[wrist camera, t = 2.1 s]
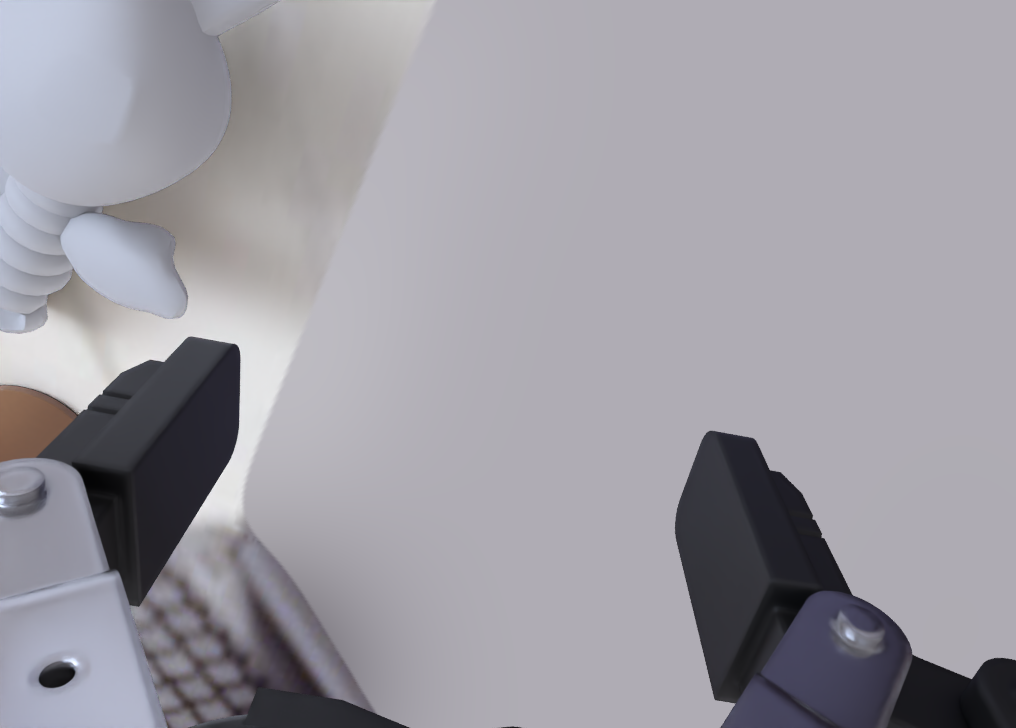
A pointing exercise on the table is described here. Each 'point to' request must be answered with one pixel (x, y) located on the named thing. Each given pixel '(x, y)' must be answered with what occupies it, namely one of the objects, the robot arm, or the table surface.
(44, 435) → the cork coaster
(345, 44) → the table surface
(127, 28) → the toy creature
